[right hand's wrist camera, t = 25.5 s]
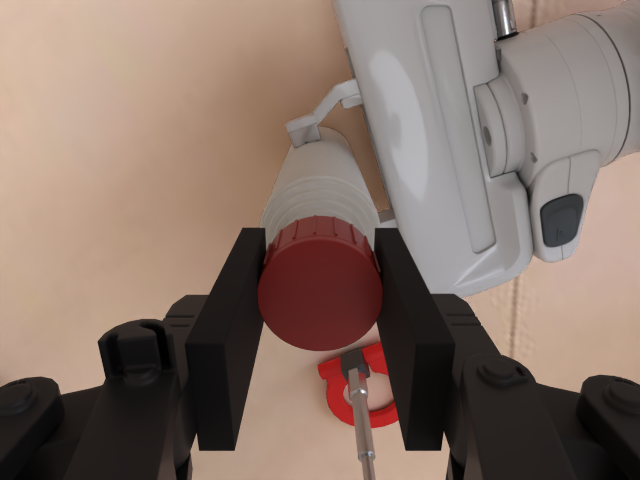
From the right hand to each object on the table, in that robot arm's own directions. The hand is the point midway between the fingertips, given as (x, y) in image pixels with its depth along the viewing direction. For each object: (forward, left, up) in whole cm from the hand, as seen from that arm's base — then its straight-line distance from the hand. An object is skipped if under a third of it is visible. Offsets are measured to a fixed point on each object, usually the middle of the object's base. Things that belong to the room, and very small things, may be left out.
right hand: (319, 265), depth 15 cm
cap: (0, 0, +2) cm, 2 cm away
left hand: (-1, 0, -13) cm, 13 cm away
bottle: (0, 0, -19) cm, 19 cm away
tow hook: (-1, -22, -19) cm, 29 cm away
